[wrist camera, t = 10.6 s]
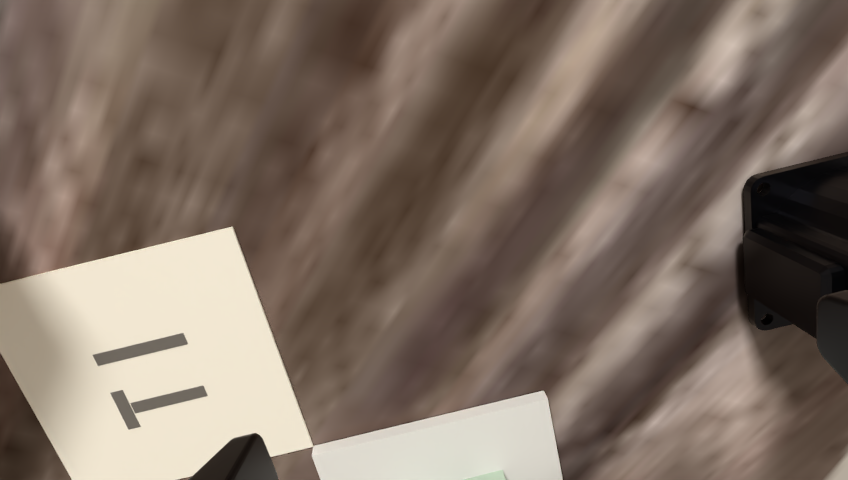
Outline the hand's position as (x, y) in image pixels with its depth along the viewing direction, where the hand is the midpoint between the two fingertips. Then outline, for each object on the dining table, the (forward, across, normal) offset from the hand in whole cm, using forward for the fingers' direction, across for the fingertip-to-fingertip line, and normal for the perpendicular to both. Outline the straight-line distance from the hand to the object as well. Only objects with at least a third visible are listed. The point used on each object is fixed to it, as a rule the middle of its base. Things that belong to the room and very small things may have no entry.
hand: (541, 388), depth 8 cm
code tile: (+12, +13, +4) cm, 18 cm away
